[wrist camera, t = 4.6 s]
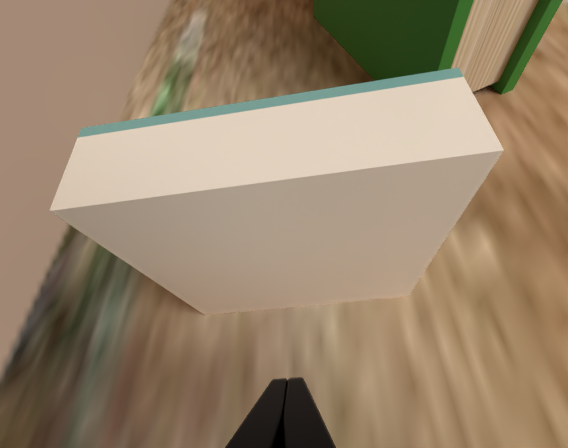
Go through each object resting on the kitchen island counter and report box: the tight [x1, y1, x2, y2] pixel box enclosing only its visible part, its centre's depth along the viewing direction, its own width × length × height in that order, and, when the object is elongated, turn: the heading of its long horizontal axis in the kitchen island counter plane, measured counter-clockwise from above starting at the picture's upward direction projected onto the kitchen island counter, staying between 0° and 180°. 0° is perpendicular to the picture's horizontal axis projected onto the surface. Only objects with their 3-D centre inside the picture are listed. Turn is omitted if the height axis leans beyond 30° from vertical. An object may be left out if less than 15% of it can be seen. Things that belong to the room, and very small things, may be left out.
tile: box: [50, 67, 504, 315], centre depth 13 cm, size 3×11×11 cm, turn 93°
